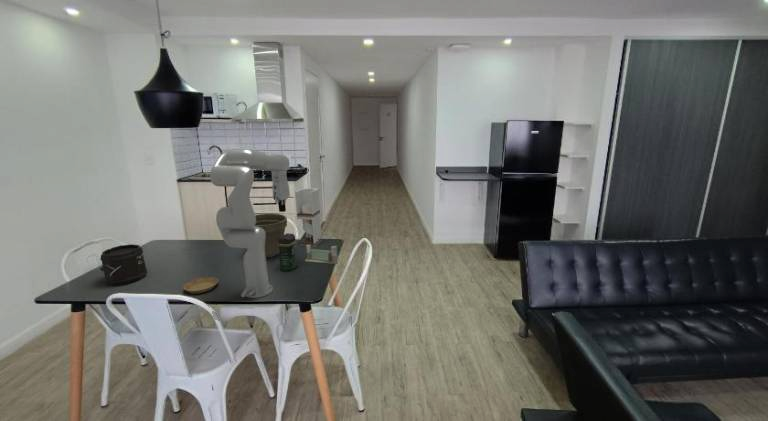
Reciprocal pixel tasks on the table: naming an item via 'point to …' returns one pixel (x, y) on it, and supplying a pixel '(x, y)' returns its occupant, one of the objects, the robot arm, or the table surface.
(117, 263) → the black round bag
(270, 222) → the plant pot
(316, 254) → the gate
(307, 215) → the display case
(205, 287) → the plant saucer
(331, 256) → the gate frame
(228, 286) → the table surface
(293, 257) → the coffee jar
